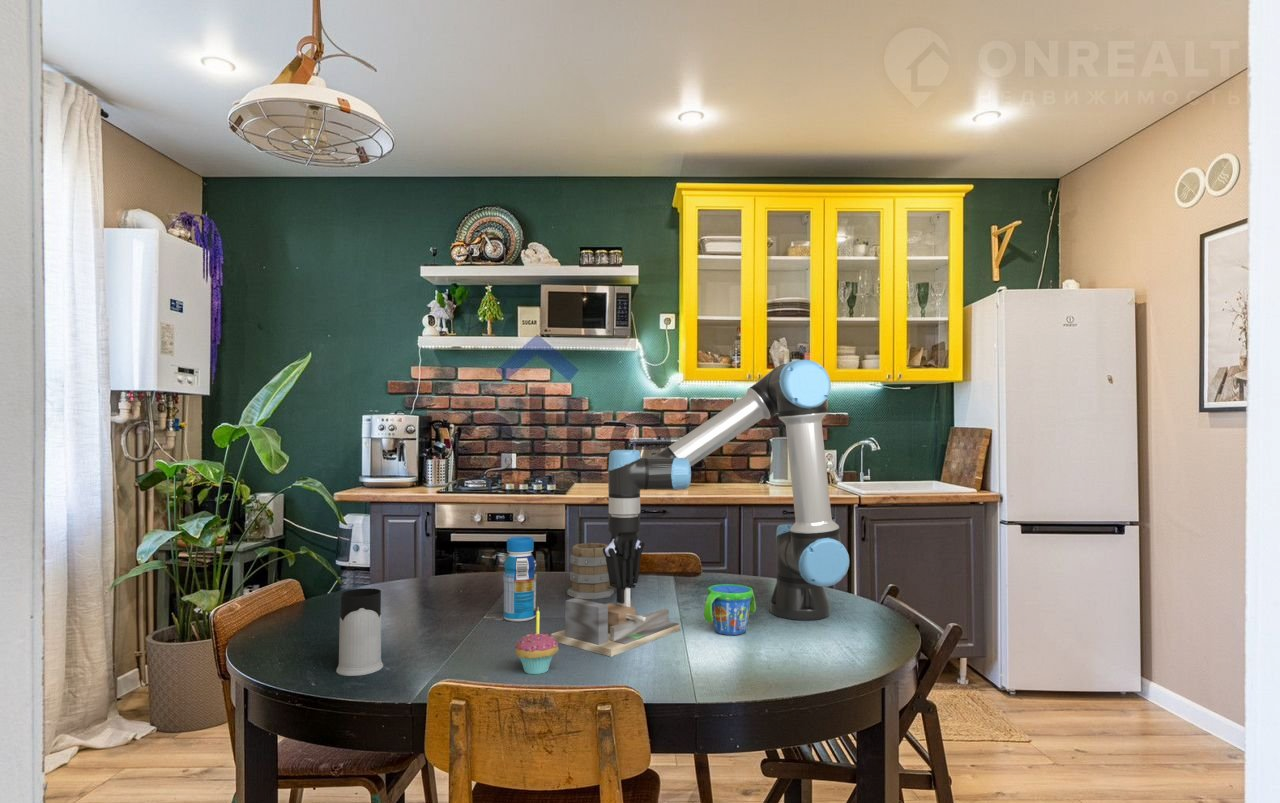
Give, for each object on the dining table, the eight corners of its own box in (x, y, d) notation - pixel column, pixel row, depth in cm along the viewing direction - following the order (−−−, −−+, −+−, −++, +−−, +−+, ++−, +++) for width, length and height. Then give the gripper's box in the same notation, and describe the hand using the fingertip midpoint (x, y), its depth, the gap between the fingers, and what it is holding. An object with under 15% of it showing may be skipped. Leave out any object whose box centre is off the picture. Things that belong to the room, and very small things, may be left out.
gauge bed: (680, 630, 168) (680, 589, 168) (611, 656, 149) (611, 611, 149) (622, 617, 179) (622, 579, 180) (550, 640, 160) (551, 598, 160)
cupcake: (517, 663, 144) (517, 604, 145) (559, 662, 145) (559, 603, 145) (513, 678, 136) (513, 615, 136) (557, 677, 136) (558, 614, 137)
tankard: (563, 598, 199) (564, 545, 200) (575, 588, 212) (575, 538, 212) (633, 601, 196) (633, 547, 197) (641, 591, 208) (641, 540, 209)
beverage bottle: (496, 620, 177) (496, 539, 177) (514, 612, 184) (515, 535, 185) (525, 623, 173) (526, 541, 174) (542, 615, 181) (543, 537, 182)
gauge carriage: (652, 632, 160) (652, 611, 160) (635, 638, 155) (635, 617, 155) (609, 622, 168) (609, 602, 168) (592, 627, 163) (592, 607, 163)
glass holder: (336, 678, 136) (337, 599, 136) (335, 656, 149) (337, 584, 149) (384, 672, 139) (385, 595, 140) (380, 651, 152) (381, 580, 153)
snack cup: (740, 621, 176) (740, 580, 176) (770, 632, 167) (770, 588, 167) (690, 631, 167) (690, 588, 167) (719, 643, 158) (719, 597, 159)
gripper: (629, 511, 174) (629, 607, 173) (593, 516, 164) (593, 619, 163) (653, 513, 170) (653, 612, 169) (618, 519, 159) (618, 624, 159)
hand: (623, 615), depth 166 cm, fingers closed
